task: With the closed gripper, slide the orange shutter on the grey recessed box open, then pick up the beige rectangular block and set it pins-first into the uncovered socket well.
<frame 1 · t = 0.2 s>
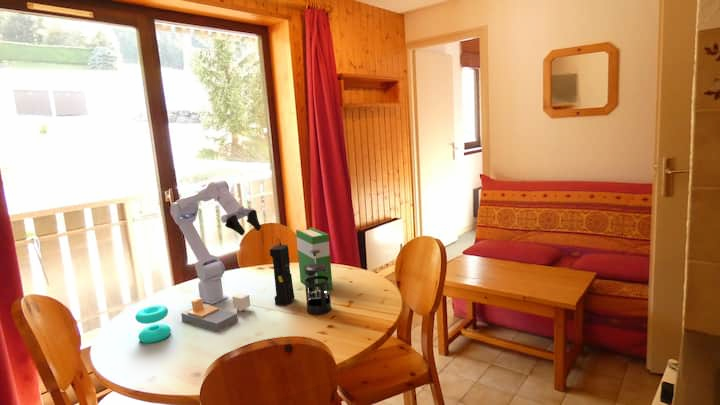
hand: (251, 231, 157), 31 cm above the table, tool tilted 50°, fingers open, 7 cm apart
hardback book: (316, 286, 186), on the table
shutter: (202, 306, 157), point 5 cm above the table, slide at 0.0 cm
grey recessed box: (209, 321, 157), on the table
beige rectangular block: (242, 310, 164), on the table
french press: (318, 310, 161), on the table
portable radio: (284, 302, 170), on the table
cyan discs: (155, 337, 146), on the table
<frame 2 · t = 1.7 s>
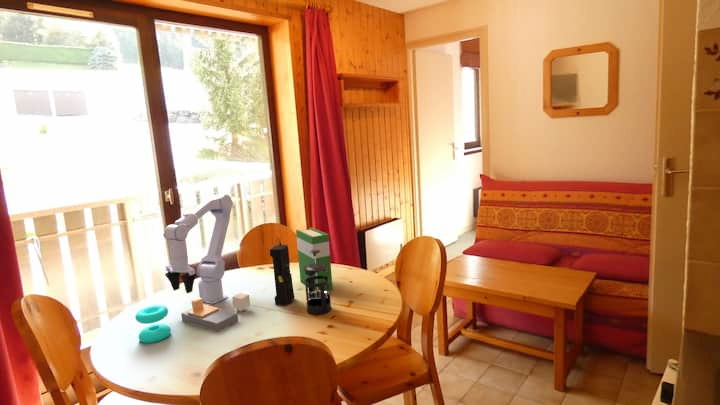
hand: (182, 290, 162), 10 cm above the table, tool pointing down, fingers open, 7 cm apart
nothing on the table moved.
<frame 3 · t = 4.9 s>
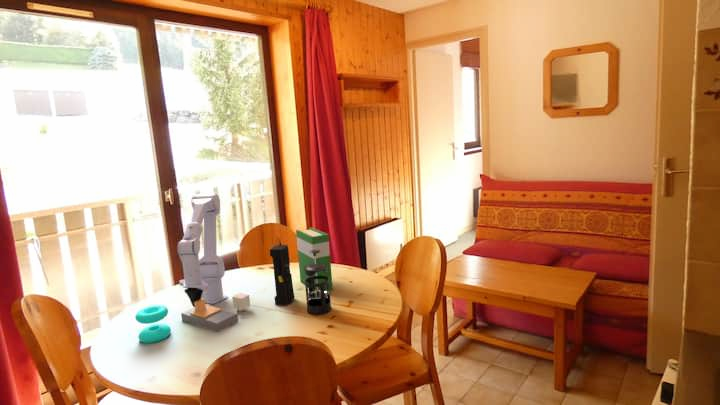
hand: (196, 306, 159), 5 cm above the table, tool pointing down, fingers closed
shutter: (205, 307, 157), point 5 cm above the table, slide at 1.4 cm, touching gripper
everything else where it was.
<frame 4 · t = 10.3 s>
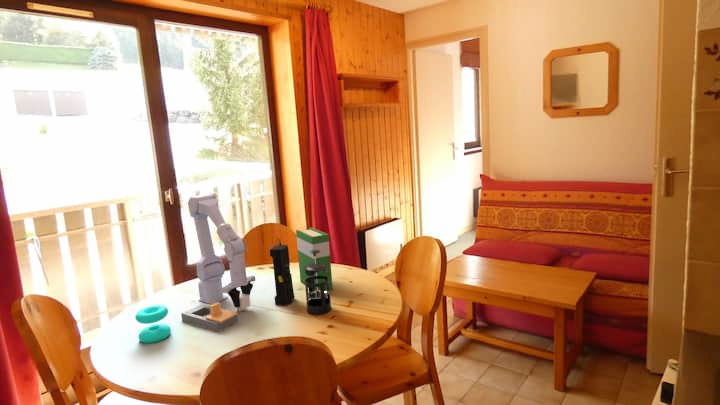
hand: (241, 304, 164), 2 cm above the table, tool pointing down, fingers closed on beige rectangular block, 4 cm apart
shutter: (221, 311, 152), point 5 cm above the table, slide at 10.1 cm
beige rectangular block: (242, 310, 164), on the table, touching gripper
everything else where it was.
when the fingers open (4 cm above the table, at t = 14.1 s): beige rectangular block drops 1 cm, resting on grey recessed box.
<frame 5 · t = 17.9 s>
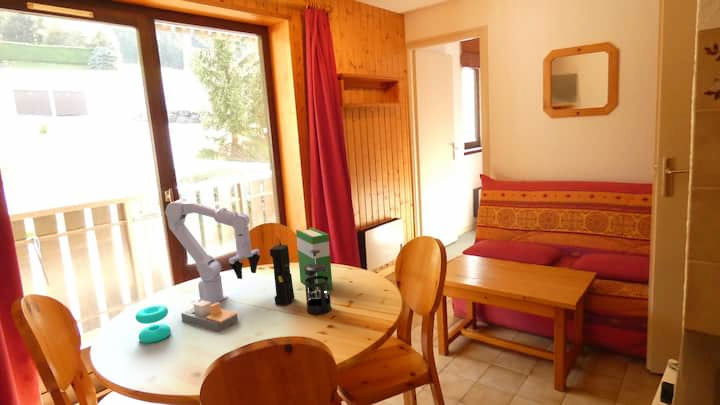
hand: (246, 275, 176), 9 cm above the table, tool pointing down, fingers open, 7 cm apart
beige rectangular block: (204, 318, 158), resting on grey recessed box
everything else where it was.
at the end: shutter slide at 10.1 cm; beige rectangular block 0.1 cm from the target spot on the grey recessed box, point 0.5 cm above the grey recessed box's base; beige rectangular block tilted 0° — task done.
